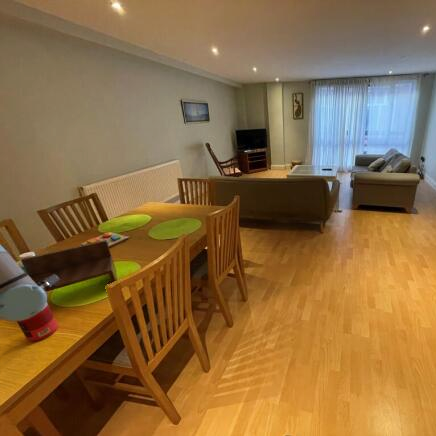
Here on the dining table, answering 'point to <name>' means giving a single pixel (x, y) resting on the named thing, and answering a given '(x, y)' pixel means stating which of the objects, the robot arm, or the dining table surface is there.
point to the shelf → (72, 264)
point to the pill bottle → (25, 257)
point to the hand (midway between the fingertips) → (14, 300)
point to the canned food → (39, 325)
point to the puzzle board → (107, 239)
